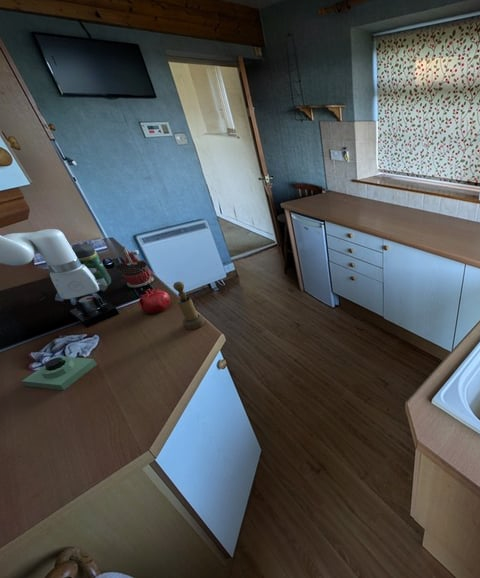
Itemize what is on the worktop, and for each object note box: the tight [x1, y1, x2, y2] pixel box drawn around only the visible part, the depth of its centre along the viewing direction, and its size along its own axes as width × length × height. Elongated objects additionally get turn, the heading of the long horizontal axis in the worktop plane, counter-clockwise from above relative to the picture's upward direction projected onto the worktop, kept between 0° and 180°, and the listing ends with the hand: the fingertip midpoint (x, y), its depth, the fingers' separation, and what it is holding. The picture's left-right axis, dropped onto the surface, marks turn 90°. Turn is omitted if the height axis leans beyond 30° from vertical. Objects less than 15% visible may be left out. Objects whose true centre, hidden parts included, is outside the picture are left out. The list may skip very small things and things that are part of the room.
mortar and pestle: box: [172, 281, 205, 331], centre depth 103 cm, size 7×6×18 cm
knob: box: [78, 295, 99, 312], centre depth 109 cm, size 4×4×5 cm
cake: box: [115, 246, 155, 289], centre depth 128 cm, size 11×9×18 cm
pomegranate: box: [138, 288, 171, 314], centre depth 114 cm, size 10×10×9 cm
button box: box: [21, 355, 98, 391], centre depth 86 cm, size 12×10×4 cm
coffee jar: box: [71, 242, 112, 289], centre depth 126 cm, size 10×8×19 cm
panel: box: [69, 298, 120, 329], centre depth 111 cm, size 12×10×3 cm
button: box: [43, 357, 65, 371], centre depth 85 cm, size 4×4×2 cm
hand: (92, 308), depth 110 cm, fingers closed on knob, 4 cm apart
